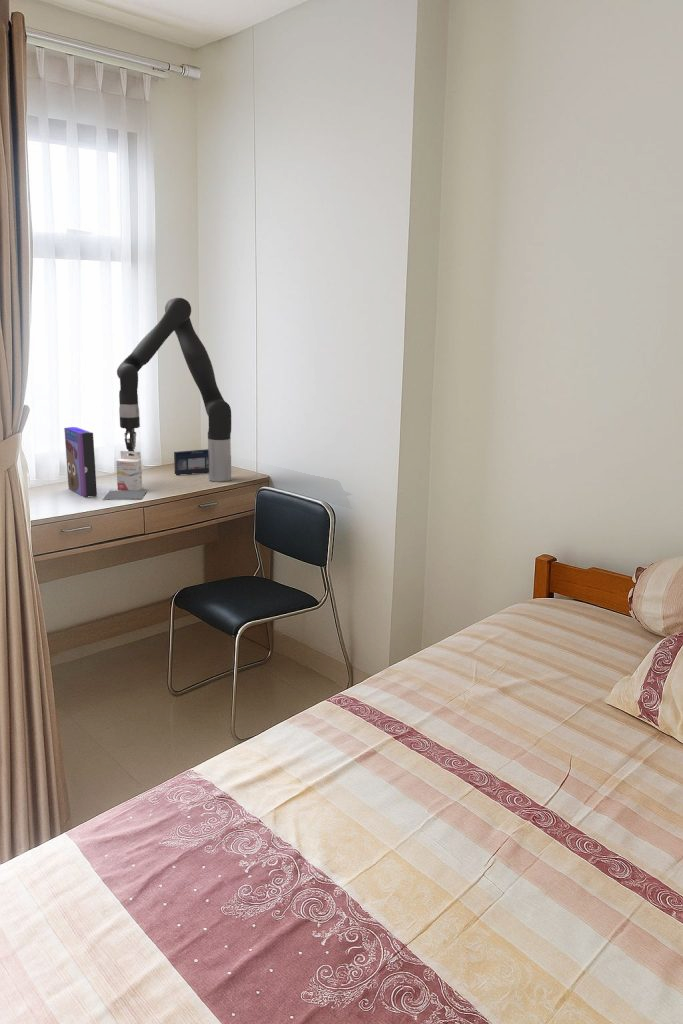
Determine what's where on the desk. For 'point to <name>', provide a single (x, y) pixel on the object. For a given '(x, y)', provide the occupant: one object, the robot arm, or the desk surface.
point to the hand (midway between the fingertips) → (131, 459)
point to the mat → (125, 494)
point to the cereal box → (80, 461)
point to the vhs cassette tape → (191, 462)
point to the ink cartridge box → (129, 471)
